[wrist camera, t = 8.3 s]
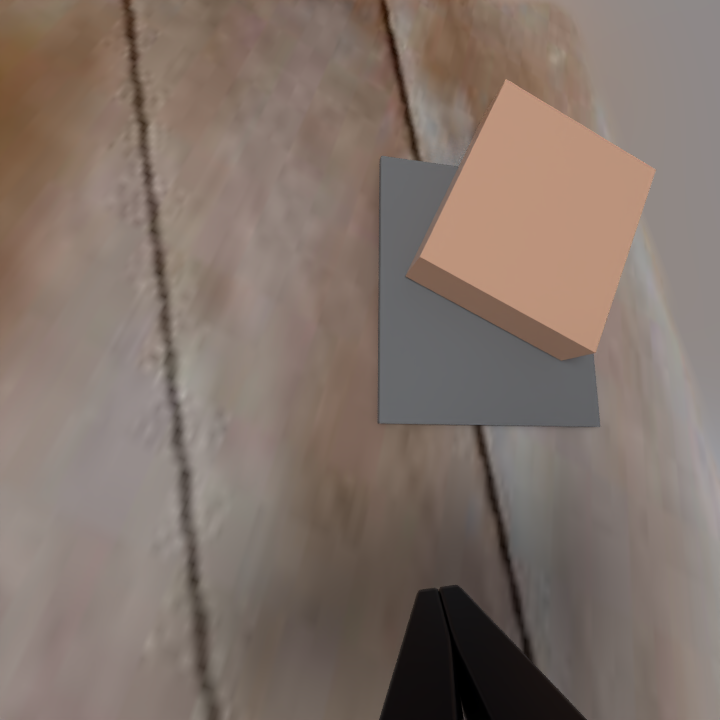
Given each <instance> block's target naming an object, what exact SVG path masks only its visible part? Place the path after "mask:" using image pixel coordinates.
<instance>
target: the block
mask: <svg viewBox="0 0 720 720" xmlns="http://www.w3.org/2000/svg"><path fill="white" fill-rule="evenodd" d="M655 171H656V170H655V169H654V168H652V167H650V166H649V165H647V164H646V163H644V162H642V161H640V160H639V159H637V158H636V157H634V156H632V155H631V154H629V153H627V152H626V151H624V150H622V149H621V148H619V147H617V146H616V145H614V144H612V143H611V142H609V141H607V140H606V139H604V138H603V137H601V136H599V135H598V134H596V133H594V132H593V131H591V130H589V129H588V128H586V127H584V126H583V125H581V124H579V123H578V122H576V121H574V120H573V119H571V118H569V117H568V116H566V115H564V114H563V113H561V112H560V111H558V110H556V109H555V108H553V107H551V106H550V105H548V104H546V103H545V102H543V101H541V100H540V99H538V98H536V97H535V96H533V95H531V94H530V93H528V92H526V91H525V90H523V89H521V88H520V87H518V86H517V85H515V84H513V83H512V82H510V81H508V80H507V79H506V80H505V82H504V83H503V85H502V87H501V88H500V90H499V91H498V93H497V95H496V96H495V98H494V100H493V101H492V103H491V104H490V106H489V108H488V109H487V111H486V113H485V114H484V116H483V118H482V120H481V122H480V124H479V126H478V128H477V130H476V132H475V135H474V137H473V139H472V141H471V143H470V145H469V147H468V149H467V151H466V153H465V155H464V157H463V159H462V161H461V163H460V165H459V167H458V169H457V171H456V173H455V175H454V177H453V179H452V181H451V184H450V186H449V188H448V190H447V192H446V194H445V196H444V198H443V200H442V202H441V204H440V206H439V208H438V210H437V212H436V214H435V216H434V218H433V220H432V222H431V224H430V226H429V228H428V231H427V233H426V235H425V237H424V239H423V241H422V243H421V245H420V247H419V249H418V251H417V253H416V255H415V257H414V259H413V261H412V263H411V265H410V267H409V269H408V271H407V273H406V275H405V276H406V277H408V278H409V279H411V280H413V281H415V282H417V283H419V284H420V285H422V286H424V287H426V288H428V289H430V290H432V291H433V292H435V293H437V294H439V295H441V296H443V297H445V298H446V299H448V300H450V301H452V302H454V303H456V304H457V305H459V306H461V307H463V308H465V309H467V310H469V311H470V312H472V313H474V314H476V315H478V316H480V317H481V318H483V319H485V320H487V321H489V322H491V323H493V324H494V325H496V326H498V327H500V328H502V329H504V330H505V331H507V332H509V333H511V334H513V335H515V336H517V337H518V338H520V339H522V340H524V341H526V342H528V343H530V344H531V345H533V346H535V347H537V348H539V349H541V350H542V351H544V352H546V353H548V354H550V355H552V356H554V357H555V358H557V359H559V360H561V361H562V360H567V359H571V358H576V357H580V356H584V355H589V354H593V353H596V350H597V347H598V344H599V341H600V338H601V335H602V332H603V329H604V326H605V323H606V320H607V317H608V314H609V311H610V308H611V304H612V301H613V298H614V295H615V292H616V289H617V286H618V283H619V280H620V277H621V274H622V271H623V268H624V265H625V262H626V259H627V256H628V253H629V250H630V247H631V244H632V241H633V238H634V235H635V232H636V229H637V226H638V223H639V220H640V217H641V214H642V210H643V207H644V204H645V201H646V198H647V195H648V192H649V189H650V186H651V183H652V179H653V177H654V174H655Z"/></svg>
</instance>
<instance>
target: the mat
mask: <svg viewBox="0 0 720 720" xmlns="http://www.w3.org/2000/svg"><path fill="white" fill-rule="evenodd" d="M457 169H458V167H457V166H450V165H443V164H436V163H428V162H421V161H414V160H407V159H400V158H393V157H386V156H381V158H380V185H379V318H378V423H392V424H456V425H521V426H585V427H600V418H599V408H598V397H597V386H596V376H595V365H594V354H589V355H584V356H580V357H576V358H571V359H567V360H562V361H561V360H559V359H557V358H555V357H554V356H552V355H550V354H548V353H546V352H544V351H542V350H541V349H539V348H537V347H535V346H533V345H531V344H530V343H528V342H526V341H524V340H522V339H520V338H518V337H517V336H515V335H513V334H511V333H509V332H507V331H505V330H504V329H502V328H500V327H498V326H496V325H494V324H493V323H491V322H489V321H487V320H485V319H483V318H481V317H480V316H478V315H476V314H474V313H472V312H470V311H469V310H467V309H465V308H463V307H461V306H459V305H457V304H456V303H454V302H452V301H450V300H448V299H446V298H445V297H443V296H441V295H439V294H437V293H435V292H433V291H432V290H430V289H428V288H426V287H424V286H422V285H420V284H419V283H417V282H415V281H413V280H411V279H409V278H408V277H406V276H405V275H406V273H407V271H408V269H409V267H410V265H411V263H412V261H413V259H414V257H415V255H416V253H417V251H418V249H419V247H420V245H421V243H422V241H423V239H424V237H425V235H426V233H427V231H428V228H429V226H430V224H431V222H432V220H433V218H434V216H435V214H436V212H437V210H438V208H439V206H440V204H441V202H442V200H443V198H444V196H445V194H446V192H447V190H448V188H449V186H450V184H451V181H452V179H453V177H454V175H455V173H456V171H457Z"/></svg>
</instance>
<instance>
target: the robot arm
mask: <svg viewBox="0 0 720 720" xmlns="http://www.w3.org/2000/svg"><path fill="white" fill-rule="evenodd" d="M462 709H463V711H462ZM463 713H464V717H465V720H587V719H586V718H585V717H584V716H583V715H582V714H581V713H580V712H579V711H578V710H577V709H576V708H575V707H574V706H573V705H572V704H571V703H570V701H569V700H568V699H567V698H566V697H565V696H564V695H563V694H562V693H561V692H560V691H559V690H558V689H557V688H556V687H555V686H554V685H553V684H552V683H551V682H550V680H549V679H548V678H547V677H546V676H545V675H544V674H543V673H542V672H541V671H540V670H539V669H538V668H537V667H536V666H535V665H534V664H533V663H532V662H531V661H530V660H529V658H528V657H527V656H526V655H525V654H524V653H523V652H522V651H521V650H520V649H519V648H518V647H517V646H516V645H515V644H514V643H513V642H512V641H511V640H510V639H509V638H508V636H507V635H506V634H505V633H504V632H503V631H502V630H501V629H500V628H499V627H498V626H497V625H496V624H495V623H494V622H493V621H492V620H491V619H490V618H489V617H488V615H487V614H486V613H485V612H484V611H483V610H482V609H481V608H480V607H479V606H478V605H477V604H476V603H475V602H474V601H473V600H472V599H471V598H470V597H469V596H468V595H467V593H466V592H465V591H464V590H463V589H462V588H461V587H460V586H458V585H451V586H444V587H440V589H439V591H438V589H436V588H430V589H423V590H419V591H418V593H417V595H416V599H415V602H414V605H413V609H412V612H411V615H410V619H409V622H408V625H407V629H406V632H405V635H404V639H403V642H402V645H401V649H400V652H399V655H398V659H397V662H396V665H395V669H394V672H393V675H392V679H391V682H390V685H389V689H388V692H387V695H386V699H385V702H384V705H383V709H382V712H381V715H380V719H379V720H464V717H463Z"/></svg>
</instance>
